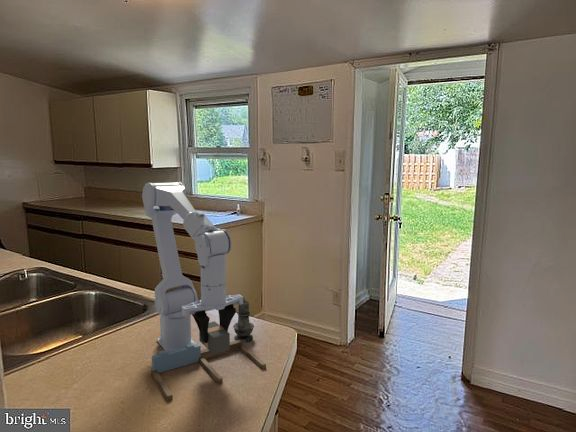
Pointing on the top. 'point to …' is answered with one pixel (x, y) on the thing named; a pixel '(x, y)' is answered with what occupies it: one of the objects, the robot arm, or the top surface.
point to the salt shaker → (243, 323)
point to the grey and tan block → (216, 339)
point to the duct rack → (192, 361)
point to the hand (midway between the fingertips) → (213, 338)
